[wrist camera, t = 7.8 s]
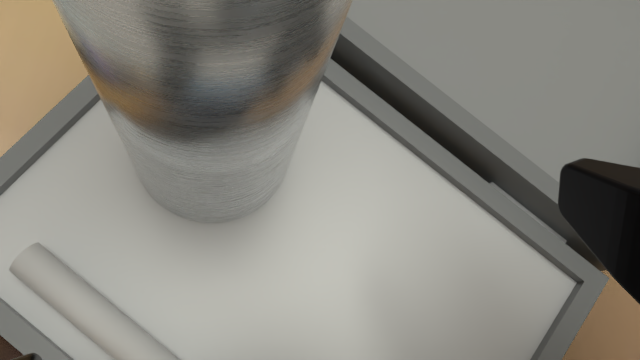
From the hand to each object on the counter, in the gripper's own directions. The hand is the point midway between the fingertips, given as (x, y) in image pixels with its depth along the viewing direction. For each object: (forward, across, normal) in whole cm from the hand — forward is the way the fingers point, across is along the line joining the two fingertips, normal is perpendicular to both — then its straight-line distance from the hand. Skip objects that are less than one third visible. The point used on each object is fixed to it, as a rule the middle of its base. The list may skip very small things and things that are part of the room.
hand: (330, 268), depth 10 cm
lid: (+7, 0, +6) cm, 9 cm away
